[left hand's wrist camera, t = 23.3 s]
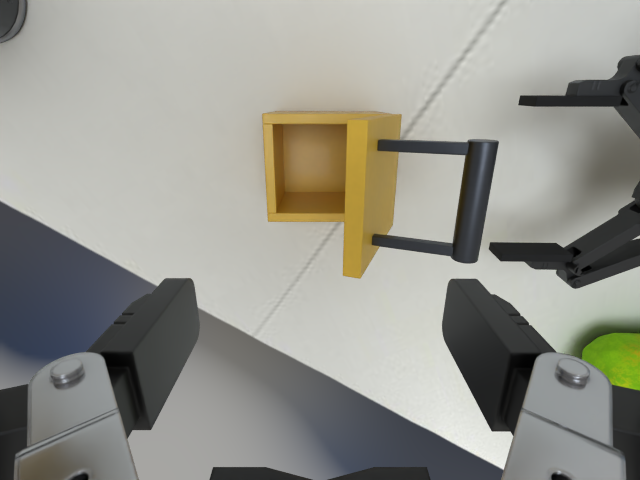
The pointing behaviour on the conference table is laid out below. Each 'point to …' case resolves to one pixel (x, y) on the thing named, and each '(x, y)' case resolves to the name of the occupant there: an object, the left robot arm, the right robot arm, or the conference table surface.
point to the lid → (380, 184)
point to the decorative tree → (616, 358)
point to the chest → (306, 164)
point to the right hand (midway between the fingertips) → (509, 182)
